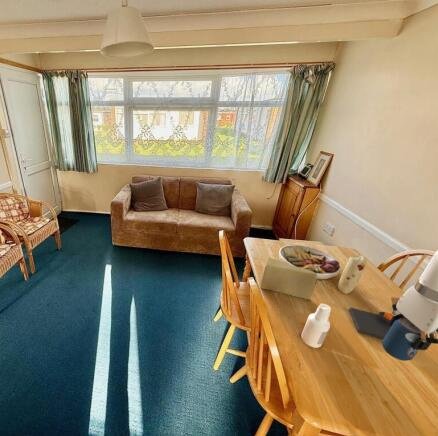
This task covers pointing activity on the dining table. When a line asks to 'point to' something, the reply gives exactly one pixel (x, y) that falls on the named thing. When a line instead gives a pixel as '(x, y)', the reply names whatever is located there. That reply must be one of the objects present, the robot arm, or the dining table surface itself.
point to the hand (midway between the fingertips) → (405, 336)
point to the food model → (351, 274)
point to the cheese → (288, 279)
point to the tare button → (388, 316)
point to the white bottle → (317, 326)
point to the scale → (370, 323)
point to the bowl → (310, 260)
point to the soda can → (401, 339)
